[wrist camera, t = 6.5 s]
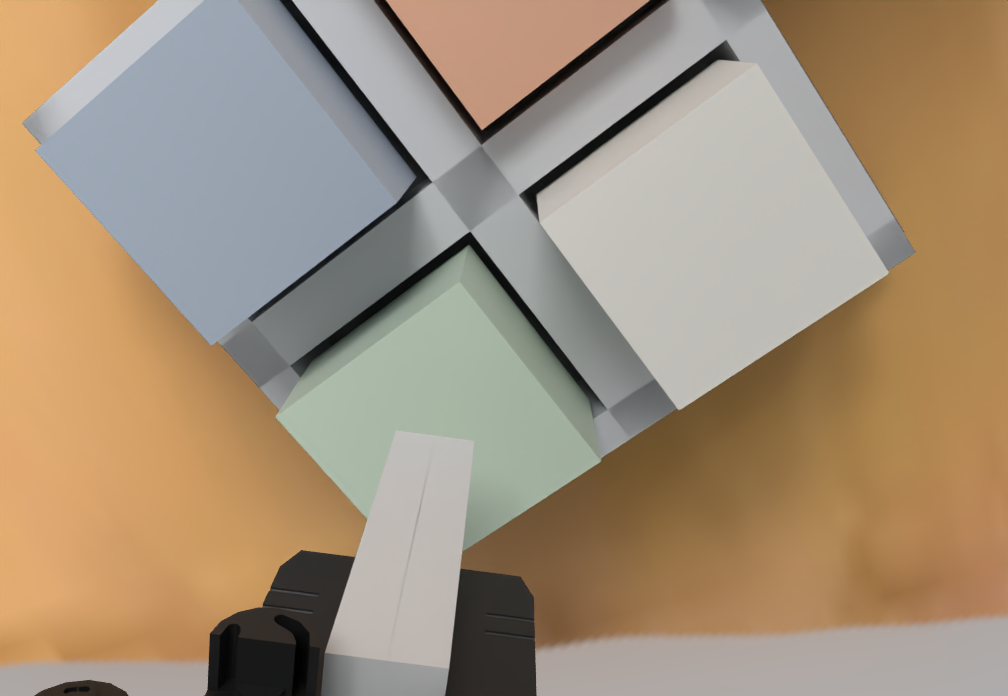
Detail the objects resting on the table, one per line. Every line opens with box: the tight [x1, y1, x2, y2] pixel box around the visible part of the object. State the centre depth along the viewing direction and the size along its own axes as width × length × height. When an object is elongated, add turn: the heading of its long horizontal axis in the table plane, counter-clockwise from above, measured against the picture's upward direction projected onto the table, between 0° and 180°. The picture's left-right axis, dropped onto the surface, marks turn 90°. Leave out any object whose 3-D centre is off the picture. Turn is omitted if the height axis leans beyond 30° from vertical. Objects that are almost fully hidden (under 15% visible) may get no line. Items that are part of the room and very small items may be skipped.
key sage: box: [276, 245, 601, 552], centre depth 21 cm, size 5×5×4 cm
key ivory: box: [536, 60, 889, 410], centre depth 19 cm, size 5×5×4 cm
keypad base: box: [22, 0, 916, 458], centre depth 23 cm, size 16×16×5 cm
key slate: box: [35, 0, 416, 346], centre depth 19 cm, size 5×5×4 cm
